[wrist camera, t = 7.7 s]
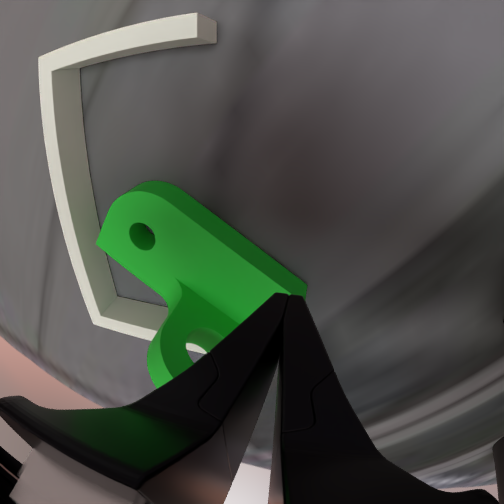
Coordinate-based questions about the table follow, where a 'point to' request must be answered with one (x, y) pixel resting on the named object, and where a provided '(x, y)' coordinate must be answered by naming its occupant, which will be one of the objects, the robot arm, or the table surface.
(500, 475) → the mug
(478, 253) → the table surface
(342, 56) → the table surface
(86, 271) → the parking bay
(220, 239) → the mechanical part
